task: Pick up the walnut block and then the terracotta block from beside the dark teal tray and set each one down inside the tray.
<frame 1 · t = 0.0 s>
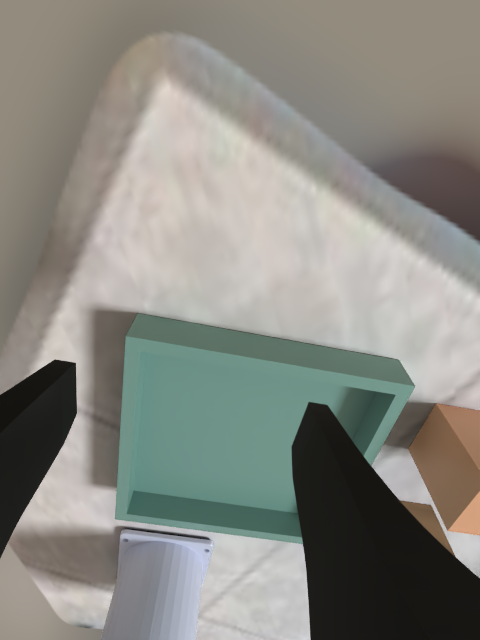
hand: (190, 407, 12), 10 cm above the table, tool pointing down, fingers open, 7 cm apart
tray: (245, 432, 26), on the table
terracotta block: (451, 431, 26), on the table
walnut block: (394, 517, 31), on the table
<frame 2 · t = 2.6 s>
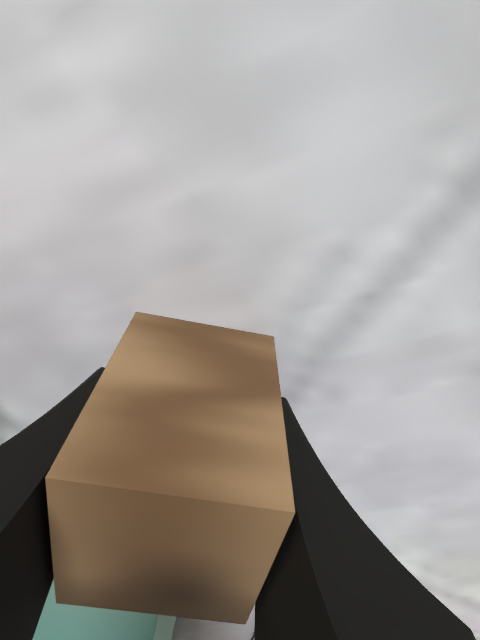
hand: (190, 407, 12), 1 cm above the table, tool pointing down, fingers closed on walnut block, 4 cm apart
tray: (21, 569, 19), on the table
walnut block: (196, 378, 13), on the table, touching gripper
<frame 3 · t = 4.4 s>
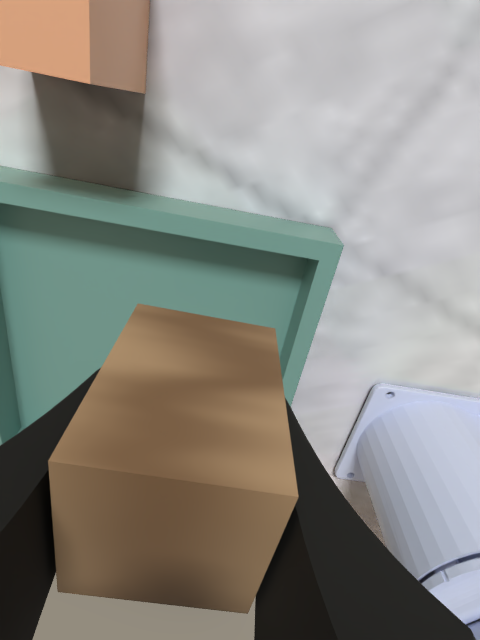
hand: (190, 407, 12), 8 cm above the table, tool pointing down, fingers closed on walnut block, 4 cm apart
tray: (147, 343, 20), on the table
terracotta block: (88, 11, 13), on the table
walnut block: (197, 371, 13), point 7 cm above the table, touching gripper
when the fingers open (3 cm above the table, at t = 6.3 s): walnut block drops 1 cm, resting on tray.
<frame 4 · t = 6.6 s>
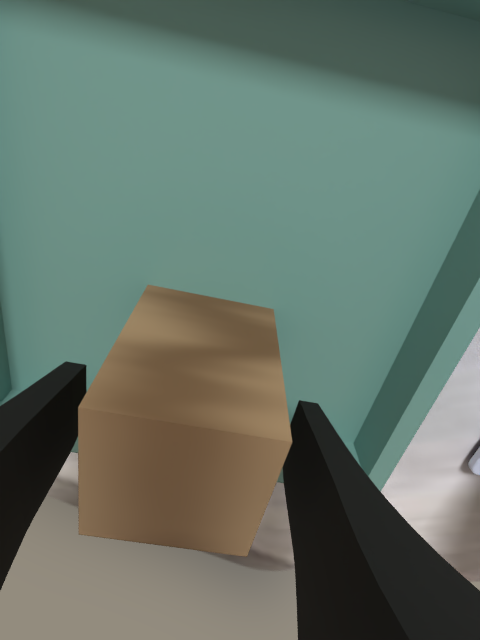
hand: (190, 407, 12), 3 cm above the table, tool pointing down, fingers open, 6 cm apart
tray: (219, 250, 13), on the table
walnut block: (201, 348, 14), point 1 cm above the table, touching tray
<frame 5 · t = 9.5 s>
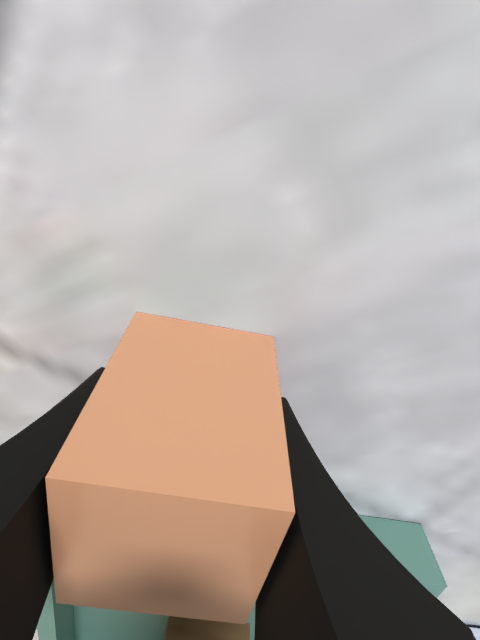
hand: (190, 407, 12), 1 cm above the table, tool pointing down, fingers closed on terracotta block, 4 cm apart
tray: (215, 592, 20), on the table
terracotta block: (196, 378, 13), on the table, touching gripper
walnut block: (203, 636, 21), point 1 cm above the table, touching tray
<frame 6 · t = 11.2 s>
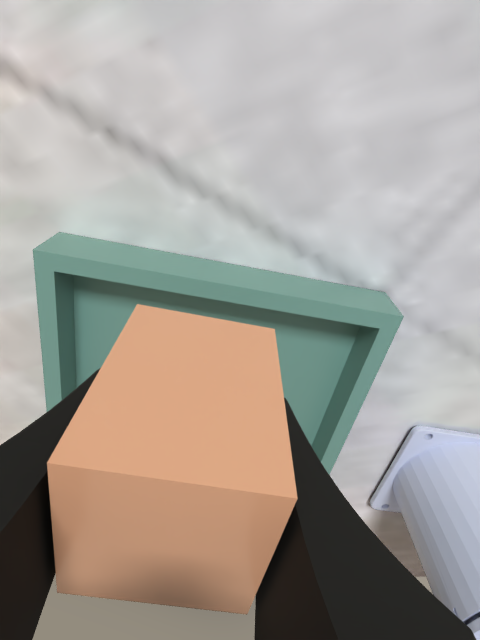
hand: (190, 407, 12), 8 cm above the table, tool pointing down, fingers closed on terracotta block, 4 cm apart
tray: (204, 389, 22), on the table
terracotta block: (197, 371, 13), point 7 cm above the table, touching gripper
when the fingers open (3 cm above the table, at t = 12.8 s): terracotta block drops 1 cm, resting on tray.
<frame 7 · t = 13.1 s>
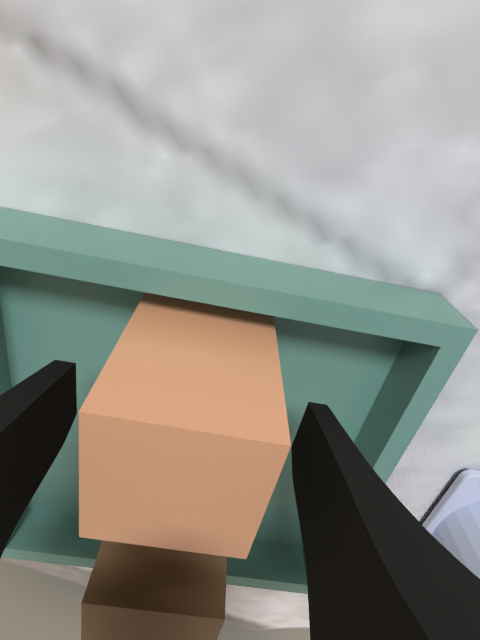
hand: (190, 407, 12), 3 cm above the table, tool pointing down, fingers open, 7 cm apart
tray: (188, 420, 16), on the table
terracotta block: (201, 351, 14), point 1 cm above the table, touching tray
walnut block: (176, 485, 18), point 1 cm above the table, touching tray
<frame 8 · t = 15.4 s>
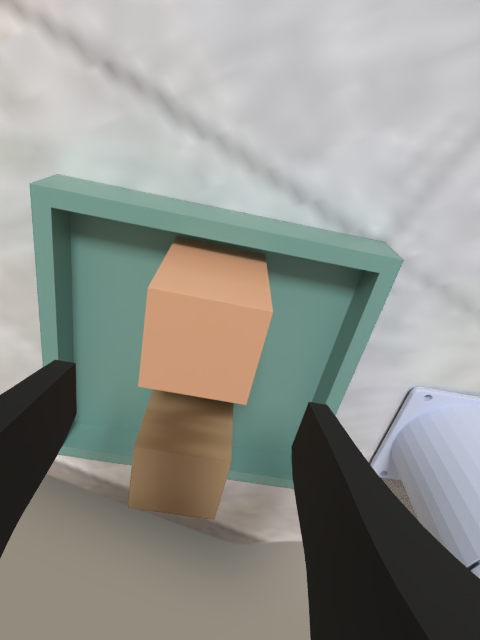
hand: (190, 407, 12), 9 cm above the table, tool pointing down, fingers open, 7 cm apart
tray: (202, 346, 22), on the table
terracotta block: (213, 286, 19), point 1 cm above the table, touching tray
walnut block: (192, 400, 23), point 1 cm above the table, touching tray
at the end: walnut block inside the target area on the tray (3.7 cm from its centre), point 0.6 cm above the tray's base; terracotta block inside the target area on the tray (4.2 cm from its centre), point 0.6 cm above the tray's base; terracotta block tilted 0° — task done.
